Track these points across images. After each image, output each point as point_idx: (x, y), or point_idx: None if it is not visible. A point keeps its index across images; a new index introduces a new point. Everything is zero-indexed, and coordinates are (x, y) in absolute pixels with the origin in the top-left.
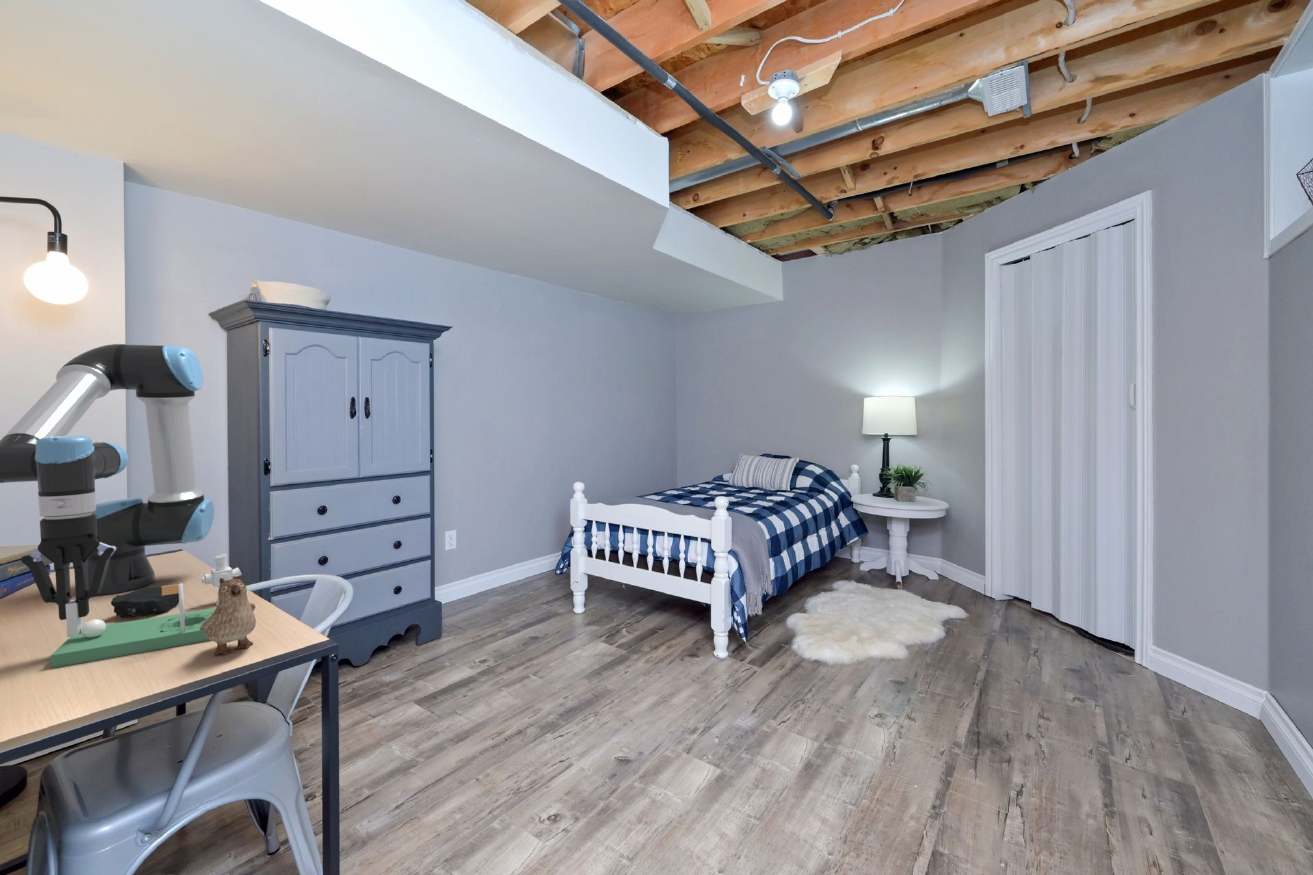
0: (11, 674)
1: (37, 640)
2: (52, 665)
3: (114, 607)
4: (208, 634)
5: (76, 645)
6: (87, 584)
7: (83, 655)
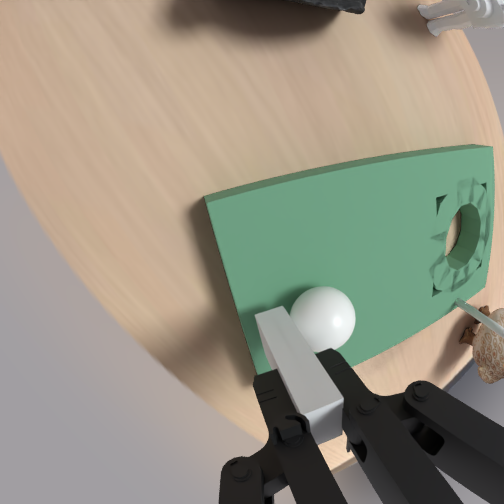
0: (193, 392)
1: (60, 160)
2: None
3: None
4: (477, 364)
5: None
6: (413, 451)
7: None
